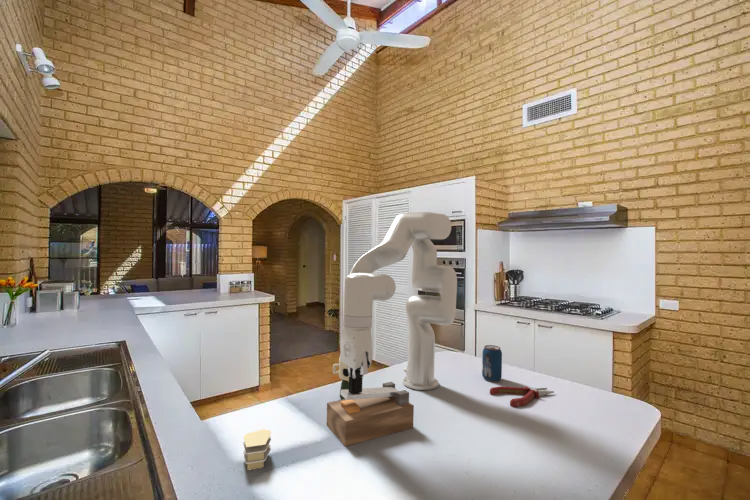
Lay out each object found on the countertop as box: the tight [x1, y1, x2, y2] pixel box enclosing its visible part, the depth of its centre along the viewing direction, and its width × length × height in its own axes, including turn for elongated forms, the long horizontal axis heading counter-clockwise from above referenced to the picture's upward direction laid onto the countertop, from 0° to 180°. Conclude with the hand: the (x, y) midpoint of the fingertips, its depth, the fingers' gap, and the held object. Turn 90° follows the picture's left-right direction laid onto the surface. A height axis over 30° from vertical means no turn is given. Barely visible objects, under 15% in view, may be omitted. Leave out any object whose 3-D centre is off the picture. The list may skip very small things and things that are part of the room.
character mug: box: [332, 357, 350, 400], centre depth 116 cm, size 11×7×13 cm, turn 100°
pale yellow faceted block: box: [242, 428, 272, 471], centre depth 81 cm, size 10×9×6 cm
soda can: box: [481, 344, 503, 383], centre depth 136 cm, size 7×7×12 cm
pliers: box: [489, 385, 555, 408], centre depth 120 cm, size 12×21×3 cm, turn 110°
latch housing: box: [326, 381, 415, 447], centre depth 98 cm, size 12×20×9 cm, turn 119°
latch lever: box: [339, 386, 399, 400], centre depth 98 cm, size 5×17×1 cm, turn 119°
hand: (355, 391), depth 95 cm, fingers closed
